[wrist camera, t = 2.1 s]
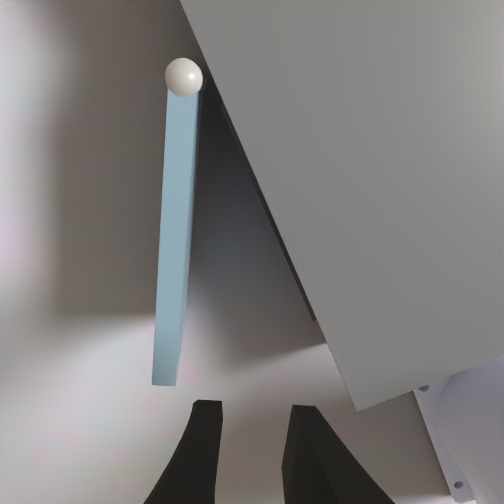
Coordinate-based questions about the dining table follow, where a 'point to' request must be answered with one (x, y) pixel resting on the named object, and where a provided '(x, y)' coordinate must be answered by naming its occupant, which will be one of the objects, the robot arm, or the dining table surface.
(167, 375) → the side door
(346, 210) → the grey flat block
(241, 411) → the dining table surface
